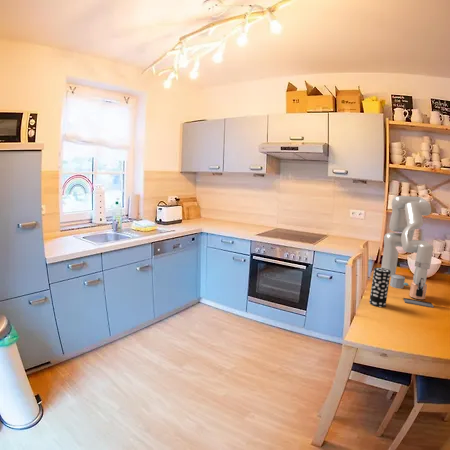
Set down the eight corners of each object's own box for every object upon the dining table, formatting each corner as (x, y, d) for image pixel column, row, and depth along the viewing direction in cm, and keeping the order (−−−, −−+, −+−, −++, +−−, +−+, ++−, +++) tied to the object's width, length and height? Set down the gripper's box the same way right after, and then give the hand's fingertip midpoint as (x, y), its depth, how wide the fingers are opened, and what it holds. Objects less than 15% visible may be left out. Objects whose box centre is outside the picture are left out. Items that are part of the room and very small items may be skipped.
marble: (401, 284, 212) (404, 286, 209) (404, 281, 211) (407, 282, 208) (404, 286, 212) (407, 288, 210) (407, 283, 212) (410, 285, 209)
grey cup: (390, 289, 205) (392, 277, 204) (389, 285, 212) (390, 273, 211) (403, 291, 202) (405, 279, 201) (402, 287, 209) (404, 275, 208)
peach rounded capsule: (410, 297, 187) (413, 284, 186) (408, 293, 194) (410, 280, 192) (425, 300, 184) (428, 287, 183) (423, 295, 191) (425, 282, 190)
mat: (405, 302, 185) (405, 301, 184) (401, 293, 199) (401, 292, 199) (433, 307, 180) (433, 306, 179) (427, 297, 194) (427, 296, 194)
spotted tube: (382, 301, 184) (387, 268, 181) (388, 307, 176) (393, 272, 173) (367, 300, 185) (371, 266, 182) (372, 306, 177) (377, 271, 174)
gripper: (412, 260, 195) (408, 287, 198) (417, 267, 179) (412, 297, 182) (426, 261, 192) (422, 289, 195) (433, 270, 176) (428, 300, 179)
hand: (417, 293), depth 189 cm, fingers closed on peach rounded capsule, 7 cm apart
